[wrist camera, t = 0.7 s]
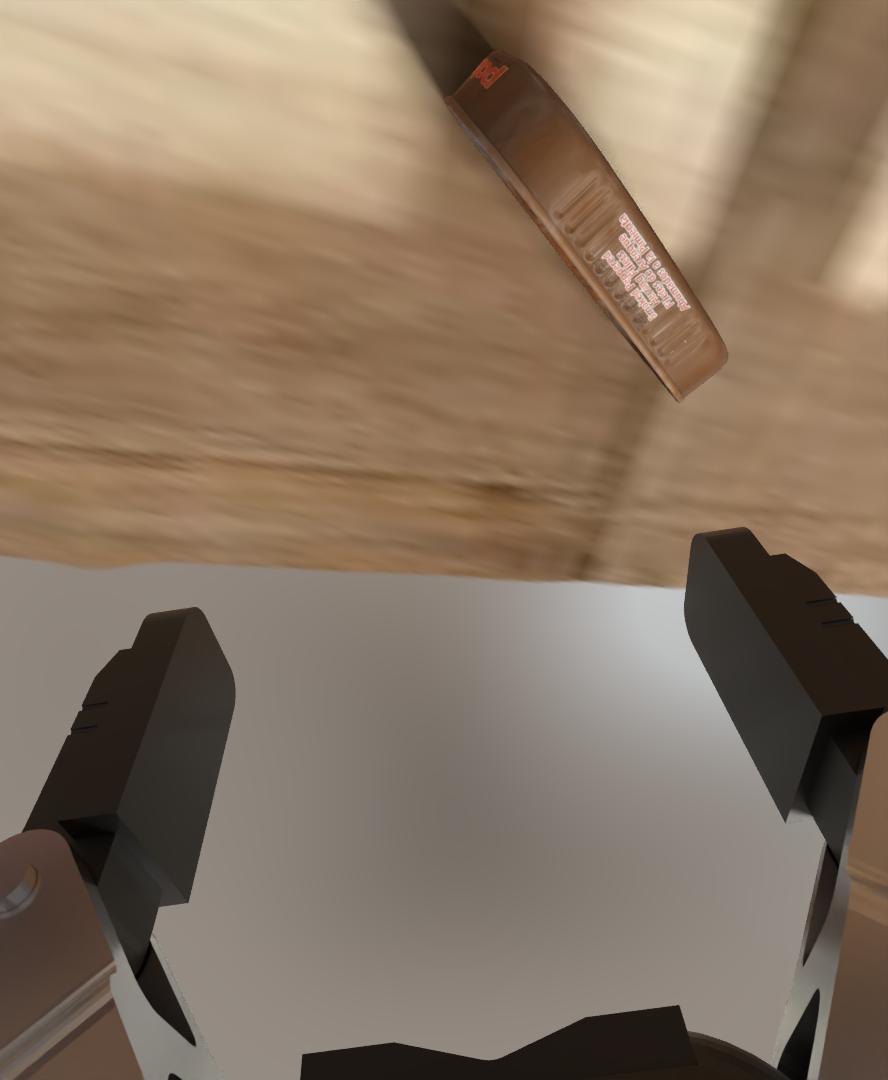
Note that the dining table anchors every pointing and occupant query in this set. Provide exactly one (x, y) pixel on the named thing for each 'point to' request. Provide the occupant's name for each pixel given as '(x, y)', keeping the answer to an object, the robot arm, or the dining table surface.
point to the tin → (588, 218)
